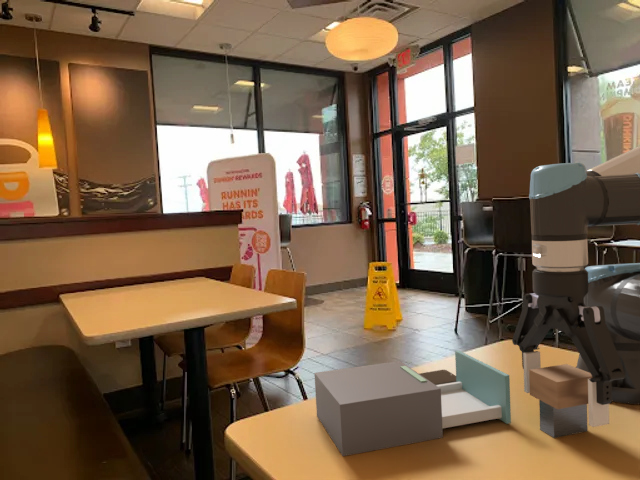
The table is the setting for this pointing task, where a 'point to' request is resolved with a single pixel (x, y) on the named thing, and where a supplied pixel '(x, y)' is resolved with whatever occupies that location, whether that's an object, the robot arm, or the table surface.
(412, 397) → the housing
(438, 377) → the smartphone
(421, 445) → the table surface
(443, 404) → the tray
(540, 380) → the walnut block
